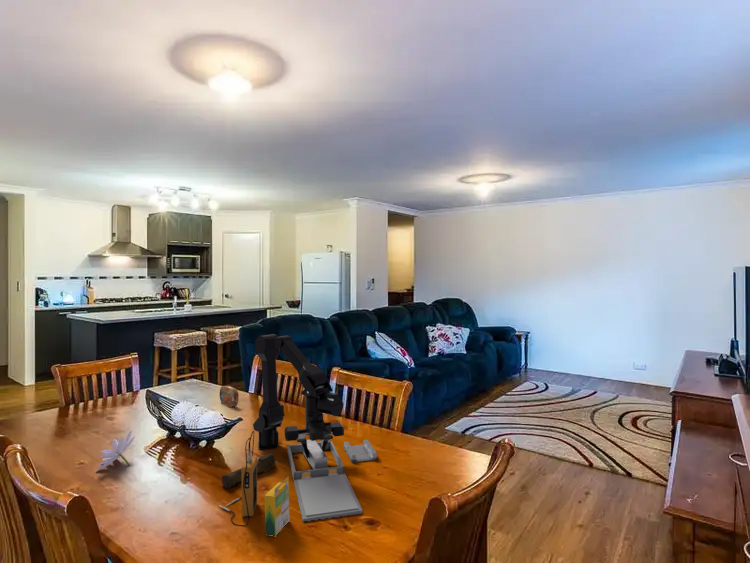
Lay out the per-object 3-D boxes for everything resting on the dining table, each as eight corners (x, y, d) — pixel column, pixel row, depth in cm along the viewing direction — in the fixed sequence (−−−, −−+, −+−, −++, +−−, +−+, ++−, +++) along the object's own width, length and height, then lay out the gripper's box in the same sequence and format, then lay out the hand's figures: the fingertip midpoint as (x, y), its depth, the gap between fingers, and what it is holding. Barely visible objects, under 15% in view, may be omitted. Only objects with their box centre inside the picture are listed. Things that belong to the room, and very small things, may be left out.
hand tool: (229, 491, 131) (229, 474, 131) (220, 486, 134) (220, 471, 134) (280, 468, 146) (280, 454, 146) (272, 465, 149) (272, 451, 149)
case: (302, 522, 115) (302, 512, 115) (287, 452, 158) (287, 445, 158) (362, 513, 119) (362, 503, 119) (331, 447, 162) (331, 440, 162)
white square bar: (314, 471, 141) (314, 459, 141) (302, 452, 156) (302, 440, 156) (327, 469, 143) (327, 457, 143) (313, 450, 158) (313, 439, 158)
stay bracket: (351, 462, 150) (351, 455, 150) (344, 448, 161) (344, 442, 161) (376, 459, 152) (376, 452, 152) (367, 446, 164) (367, 439, 164)
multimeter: (223, 497, 127) (222, 426, 126) (259, 496, 128) (259, 425, 127) (208, 527, 112) (207, 447, 112) (249, 526, 113) (249, 445, 113)
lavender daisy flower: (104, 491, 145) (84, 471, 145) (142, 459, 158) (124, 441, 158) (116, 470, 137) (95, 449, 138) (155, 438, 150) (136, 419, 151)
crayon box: (279, 519, 116) (279, 474, 116) (289, 521, 115) (289, 475, 115) (264, 535, 109) (263, 487, 109) (275, 537, 108) (275, 489, 108)
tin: (219, 402, 218) (218, 384, 217) (225, 400, 220) (225, 383, 219) (233, 409, 206) (233, 390, 206) (239, 407, 209) (239, 389, 208)
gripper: (287, 420, 139) (287, 471, 139) (347, 415, 144) (347, 464, 144) (284, 409, 150) (284, 456, 150) (340, 404, 155) (340, 450, 155)
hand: (314, 457), depth 150 cm, fingers closed on white square bar, 4 cm apart
